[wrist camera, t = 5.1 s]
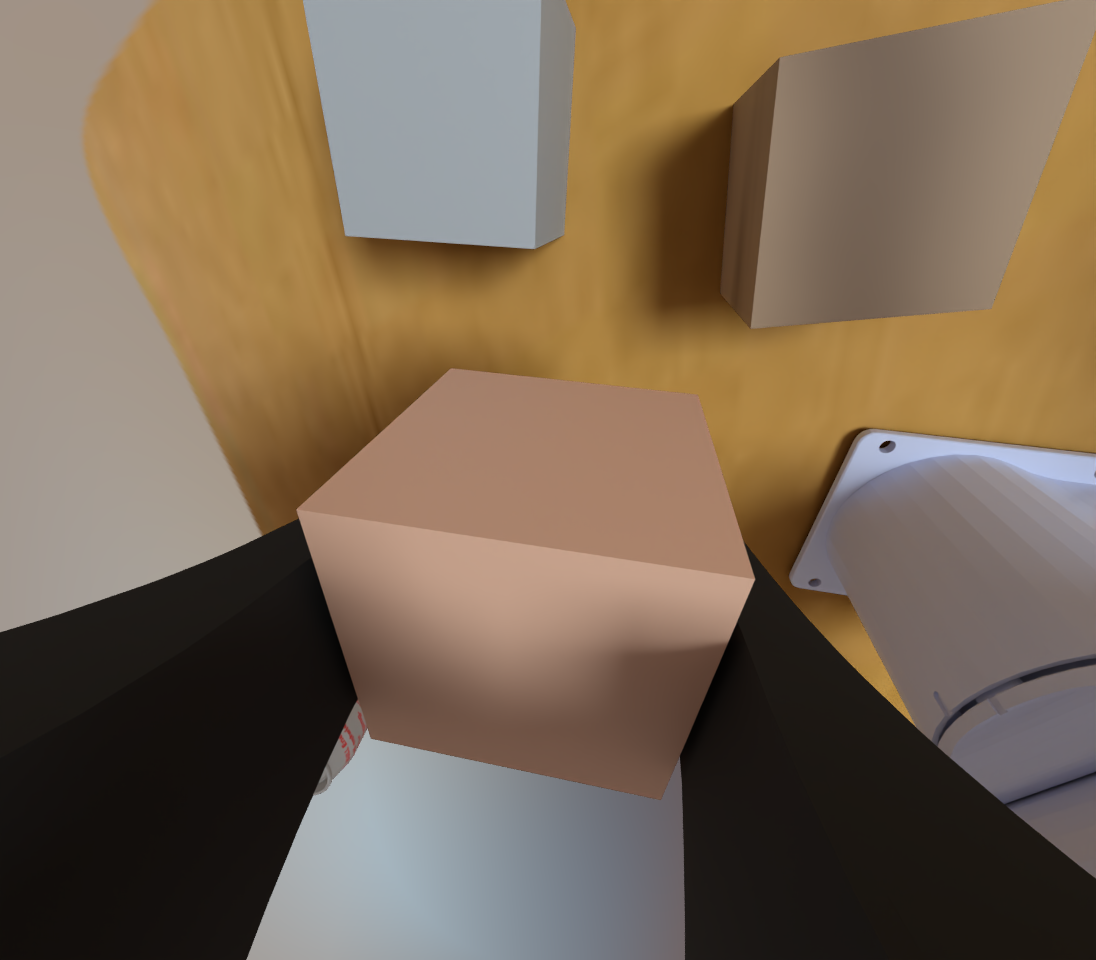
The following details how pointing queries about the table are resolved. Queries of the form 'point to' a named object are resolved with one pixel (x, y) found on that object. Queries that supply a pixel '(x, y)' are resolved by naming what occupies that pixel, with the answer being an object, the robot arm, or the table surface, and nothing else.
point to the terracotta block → (534, 575)
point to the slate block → (447, 116)
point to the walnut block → (895, 167)
